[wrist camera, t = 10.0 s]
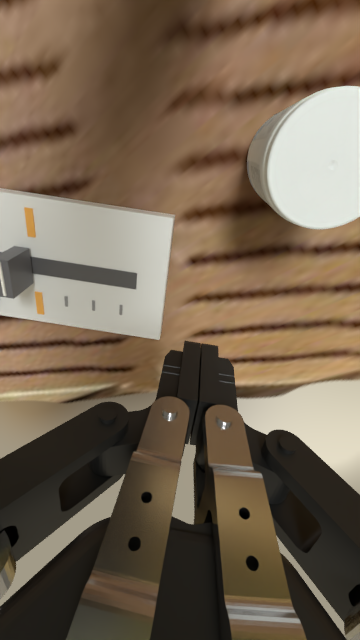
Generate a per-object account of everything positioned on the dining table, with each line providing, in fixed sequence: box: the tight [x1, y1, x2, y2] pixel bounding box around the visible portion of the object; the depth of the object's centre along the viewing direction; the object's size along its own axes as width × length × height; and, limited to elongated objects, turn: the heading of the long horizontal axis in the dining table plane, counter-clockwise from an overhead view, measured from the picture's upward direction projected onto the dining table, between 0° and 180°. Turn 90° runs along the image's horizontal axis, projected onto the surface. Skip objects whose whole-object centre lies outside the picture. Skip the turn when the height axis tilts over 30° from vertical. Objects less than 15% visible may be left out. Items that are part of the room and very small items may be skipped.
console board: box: [0, 188, 175, 340], centre depth 42 cm, size 18×28×4 cm, turn 83°
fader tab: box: [0, 246, 34, 299], centre depth 39 cm, size 5×2×5 cm, turn 173°
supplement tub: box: [247, 86, 360, 229], centre depth 28 cm, size 10×10×15 cm
